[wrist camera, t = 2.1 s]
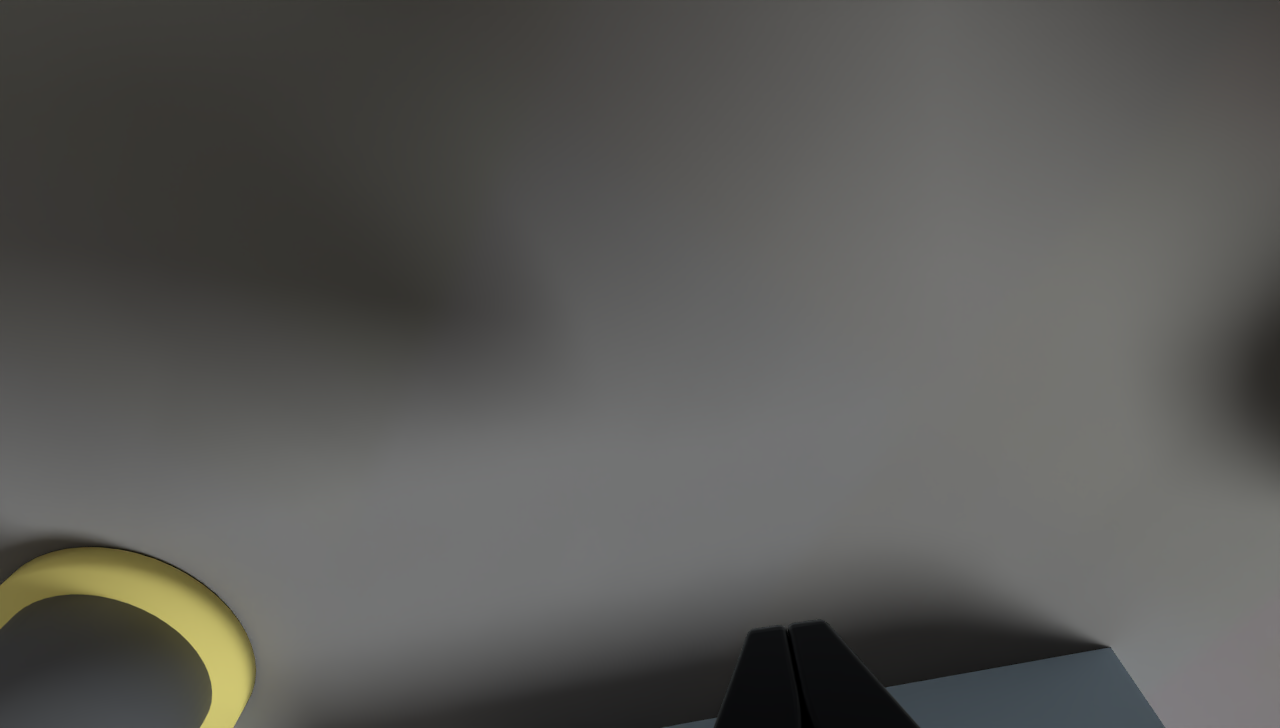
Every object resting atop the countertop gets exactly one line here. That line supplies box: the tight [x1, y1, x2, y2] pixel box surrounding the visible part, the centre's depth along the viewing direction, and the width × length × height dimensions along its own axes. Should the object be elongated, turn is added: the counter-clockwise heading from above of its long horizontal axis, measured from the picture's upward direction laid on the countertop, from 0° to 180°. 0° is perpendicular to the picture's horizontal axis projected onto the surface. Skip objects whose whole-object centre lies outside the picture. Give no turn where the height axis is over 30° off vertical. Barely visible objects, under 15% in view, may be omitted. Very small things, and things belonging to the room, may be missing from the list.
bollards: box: [0, 547, 256, 728], centre depth 12 cm, size 28×5×4 cm, turn 101°
